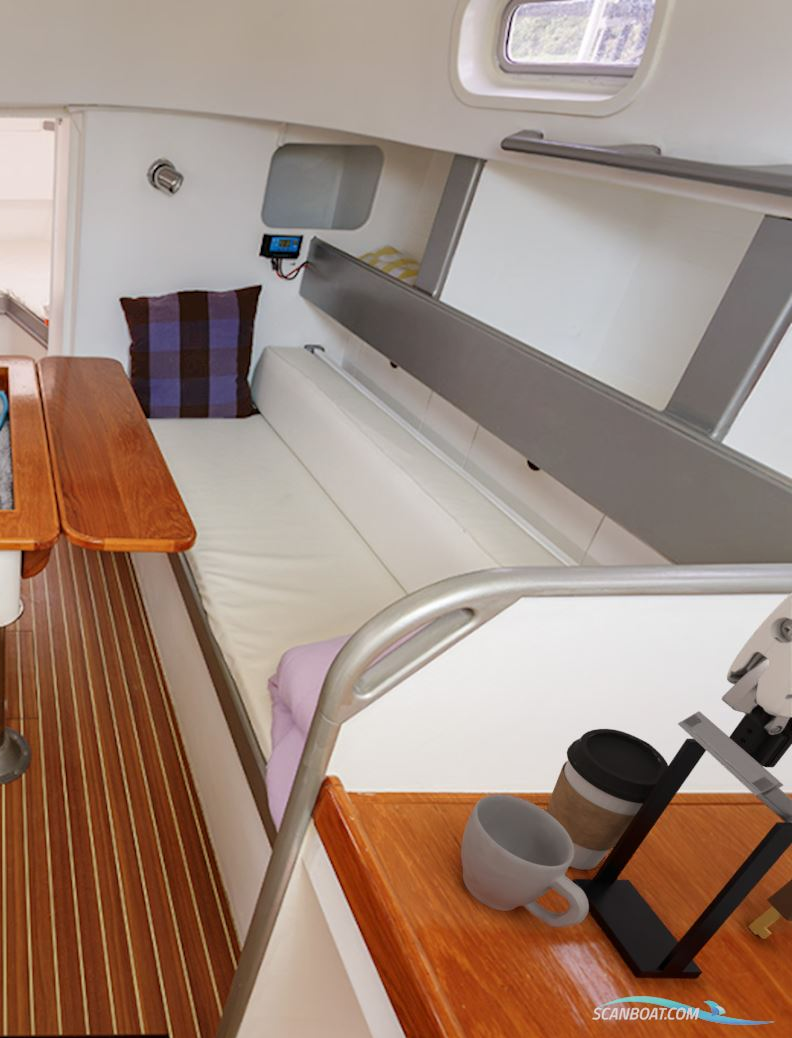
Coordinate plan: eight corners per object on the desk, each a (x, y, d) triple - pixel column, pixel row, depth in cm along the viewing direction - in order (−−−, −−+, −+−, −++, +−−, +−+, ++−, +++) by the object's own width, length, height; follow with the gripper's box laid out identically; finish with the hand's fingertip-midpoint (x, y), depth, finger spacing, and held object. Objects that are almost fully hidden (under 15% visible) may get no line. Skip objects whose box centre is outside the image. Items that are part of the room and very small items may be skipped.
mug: (426, 866, 81) (455, 807, 76) (482, 841, 84) (513, 783, 79) (528, 970, 71) (569, 910, 66) (588, 938, 74) (630, 878, 69)
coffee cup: (629, 866, 81) (694, 772, 74) (578, 890, 79) (641, 795, 71) (556, 807, 88) (609, 715, 81) (507, 828, 85) (558, 735, 78)
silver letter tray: (728, 769, 69) (749, 757, 68) (809, 843, 62) (833, 831, 61) (677, 723, 66) (698, 710, 65) (755, 795, 59) (780, 782, 58)
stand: (623, 886, 79) (728, 739, 68) (697, 979, 71) (829, 828, 60) (569, 885, 79) (665, 737, 68) (636, 978, 71) (757, 826, 60)
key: (816, 895, 71) (843, 901, 71) (795, 875, 73) (821, 880, 73) (761, 941, 74) (787, 945, 75) (741, 920, 76) (767, 925, 77)
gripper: (823, 619, 55) (702, 786, 64) (1016, 624, 55) (868, 790, 64) (737, 565, 62) (638, 723, 71) (910, 570, 62) (789, 727, 71)
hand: (748, 755), depth 67 cm, fingers closed
